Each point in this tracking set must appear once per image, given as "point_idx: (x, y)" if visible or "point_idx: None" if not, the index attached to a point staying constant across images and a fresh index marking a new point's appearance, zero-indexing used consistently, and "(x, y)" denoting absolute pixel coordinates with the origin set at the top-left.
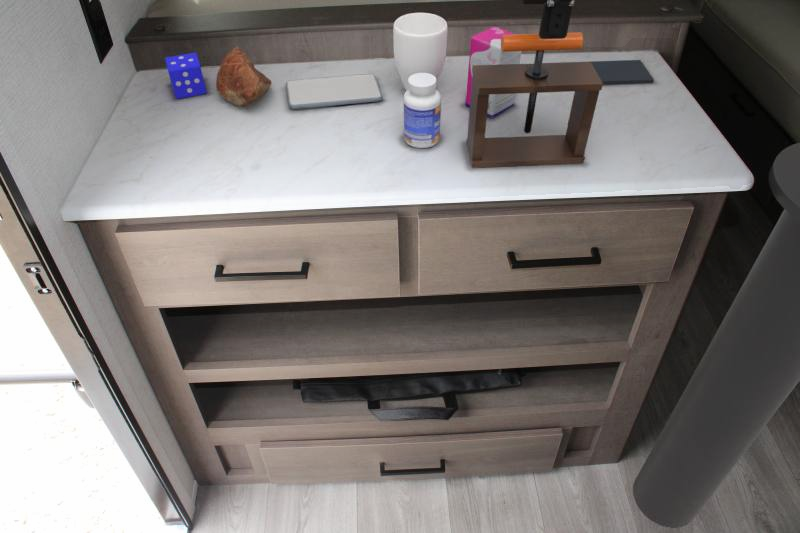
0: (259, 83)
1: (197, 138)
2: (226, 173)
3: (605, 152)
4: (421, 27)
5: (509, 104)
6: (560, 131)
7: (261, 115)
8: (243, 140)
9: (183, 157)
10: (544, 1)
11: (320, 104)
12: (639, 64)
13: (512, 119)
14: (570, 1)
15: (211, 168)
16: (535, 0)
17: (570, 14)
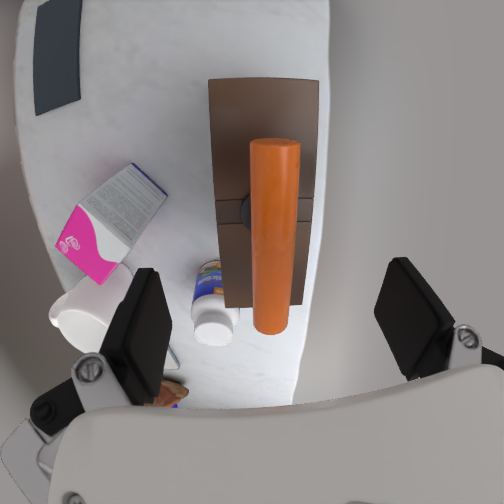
0: (181, 397)
1: (223, 397)
2: (265, 384)
3: (257, 51)
4: (68, 316)
5: (139, 172)
6: (198, 102)
7: (188, 376)
8: (224, 382)
9: (245, 399)
10: (157, 280)
11: (171, 352)
12: (46, 5)
13: (166, 167)
14: (486, 351)
15: (259, 389)
16: (164, 307)
17: (438, 299)
